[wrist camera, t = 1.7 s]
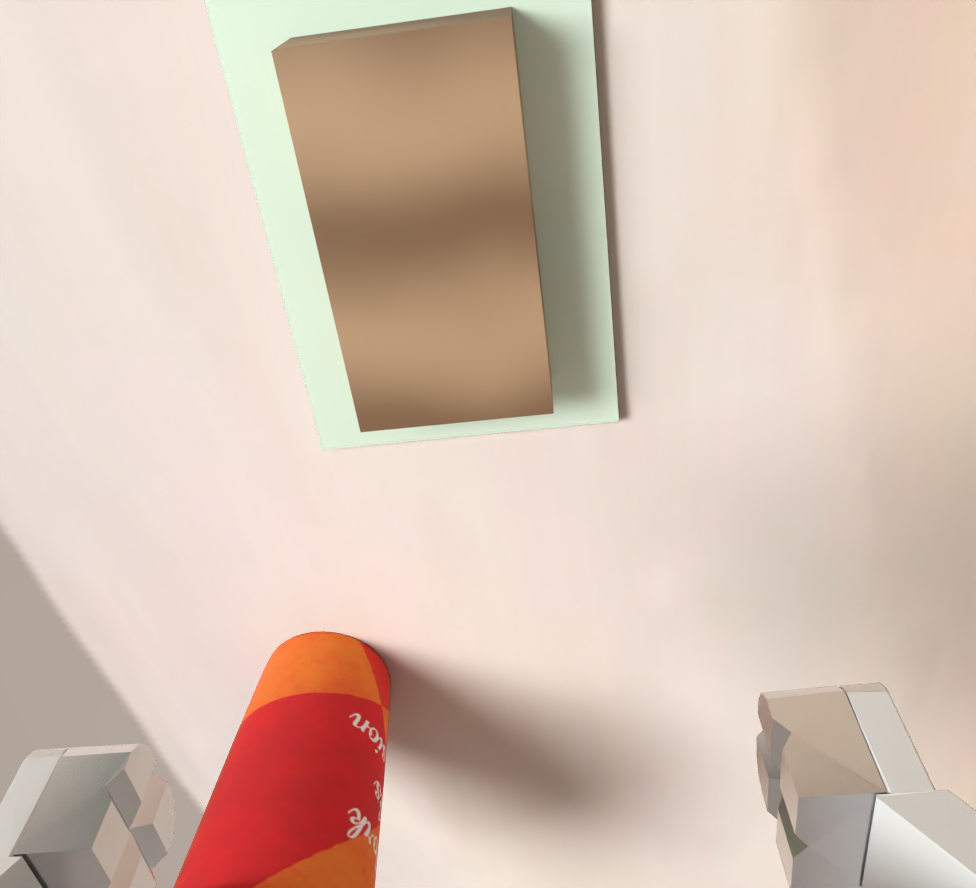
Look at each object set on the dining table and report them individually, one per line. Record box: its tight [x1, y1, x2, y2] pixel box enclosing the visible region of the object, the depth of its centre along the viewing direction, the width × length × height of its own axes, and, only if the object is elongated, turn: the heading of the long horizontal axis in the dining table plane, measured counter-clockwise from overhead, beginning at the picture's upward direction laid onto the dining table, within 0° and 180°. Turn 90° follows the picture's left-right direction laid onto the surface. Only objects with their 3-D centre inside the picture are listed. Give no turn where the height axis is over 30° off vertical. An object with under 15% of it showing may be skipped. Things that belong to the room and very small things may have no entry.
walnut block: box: [271, 7, 554, 432], centre depth 29 cm, size 12×6×2 cm, turn 7°
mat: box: [204, 0, 619, 450], centre depth 30 cm, size 16×11×1 cm
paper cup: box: [174, 632, 390, 888], centre depth 35 cm, size 8×8×14 cm
